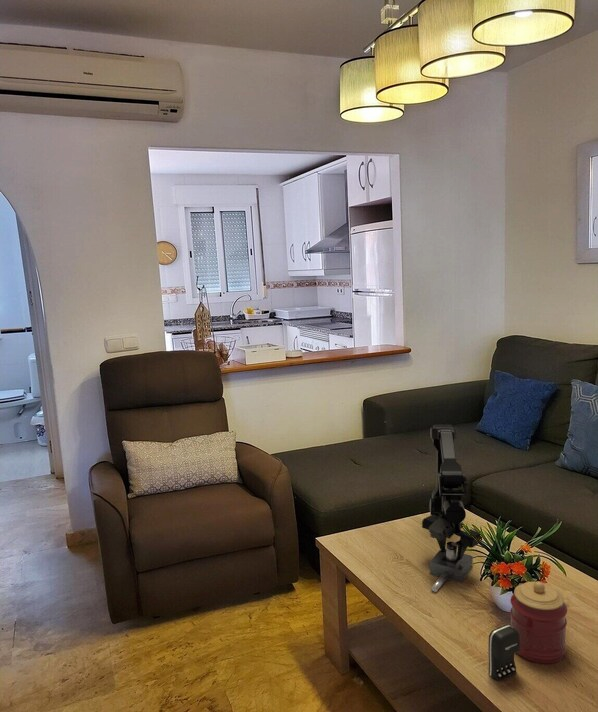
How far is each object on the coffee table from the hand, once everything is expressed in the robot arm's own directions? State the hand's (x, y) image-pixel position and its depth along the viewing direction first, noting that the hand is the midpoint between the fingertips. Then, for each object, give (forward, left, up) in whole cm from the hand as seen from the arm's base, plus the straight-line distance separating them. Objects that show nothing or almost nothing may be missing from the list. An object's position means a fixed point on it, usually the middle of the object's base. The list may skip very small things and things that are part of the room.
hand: (451, 555), depth 181 cm
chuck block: (+5, 0, -5) cm, 7 cm away
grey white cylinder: (0, 0, -4) cm, 4 cm away
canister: (+23, +31, -5) cm, 39 cm away
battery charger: (+37, +27, -5) cm, 46 cm away
